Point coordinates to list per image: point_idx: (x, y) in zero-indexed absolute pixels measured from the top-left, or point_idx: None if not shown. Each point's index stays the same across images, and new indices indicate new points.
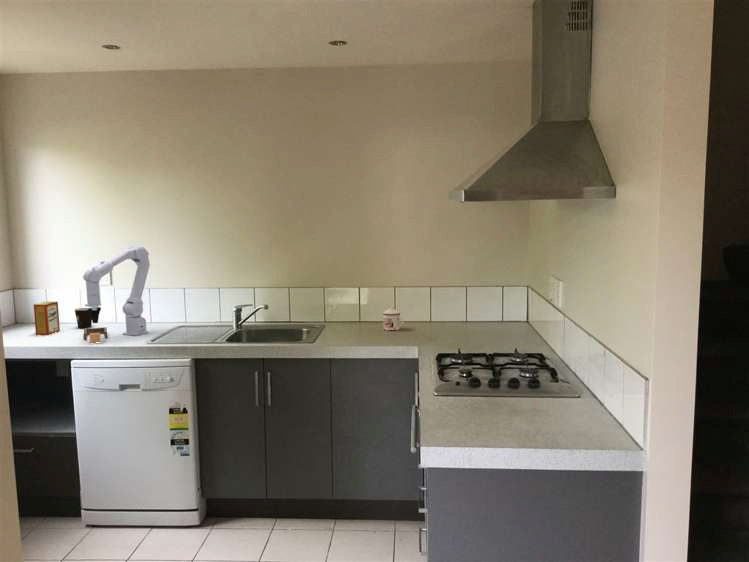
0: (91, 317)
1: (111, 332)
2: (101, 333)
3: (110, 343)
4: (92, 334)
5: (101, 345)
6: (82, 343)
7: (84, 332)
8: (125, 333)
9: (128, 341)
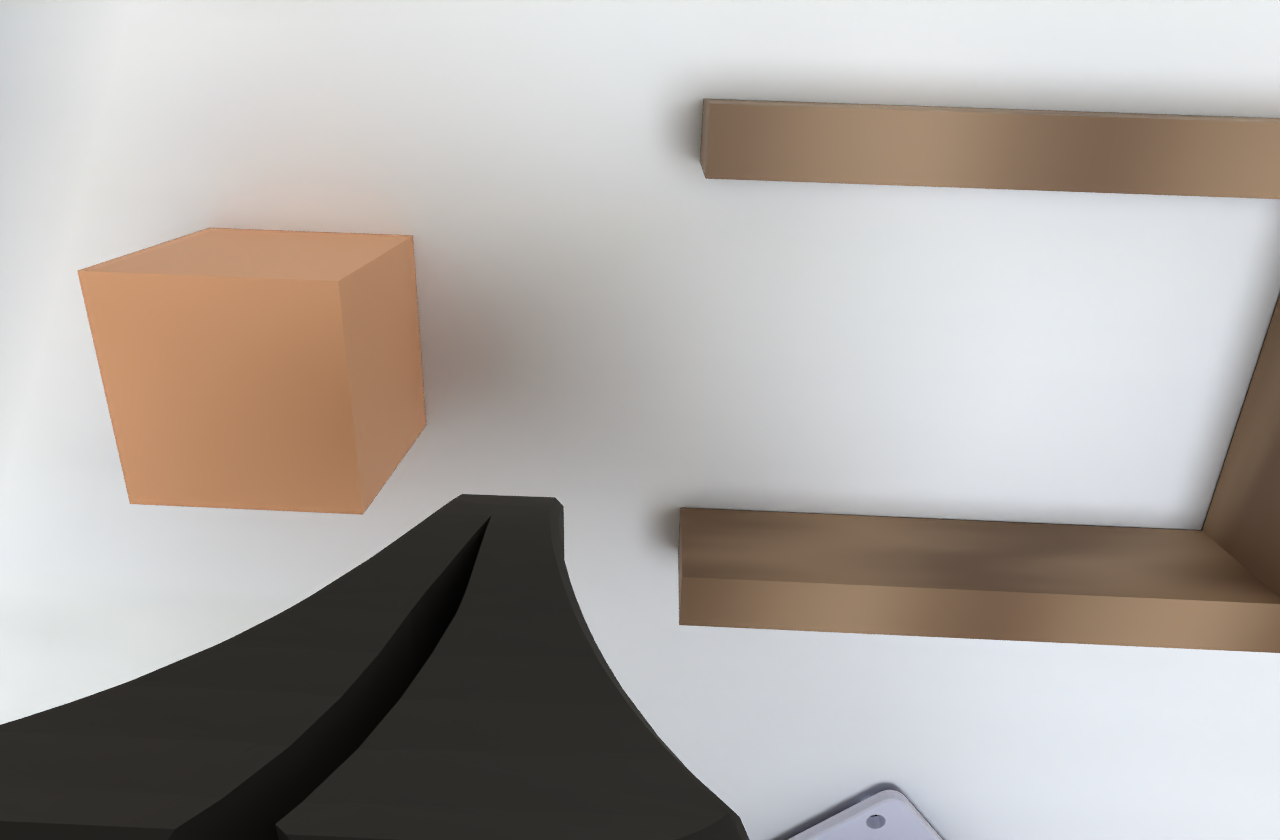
0: (326, 588)
1: None
2: (1224, 483)
3: (153, 566)
4: (141, 340)
5: (10, 421)
6: (334, 61)
7: (955, 135)
8: (840, 833)
9: None
